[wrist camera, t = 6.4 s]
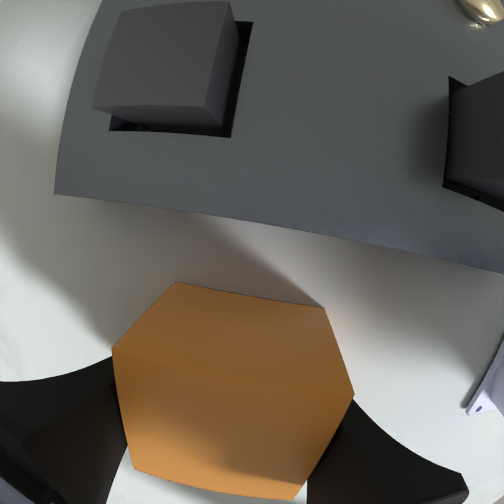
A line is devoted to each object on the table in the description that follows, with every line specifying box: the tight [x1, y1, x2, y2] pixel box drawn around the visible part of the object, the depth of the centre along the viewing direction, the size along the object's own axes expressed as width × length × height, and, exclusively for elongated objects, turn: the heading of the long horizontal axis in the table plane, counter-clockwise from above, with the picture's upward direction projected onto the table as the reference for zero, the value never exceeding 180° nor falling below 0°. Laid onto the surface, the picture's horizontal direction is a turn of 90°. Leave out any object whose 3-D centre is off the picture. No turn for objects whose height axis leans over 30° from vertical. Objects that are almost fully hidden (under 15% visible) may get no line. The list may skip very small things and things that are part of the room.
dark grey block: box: [91, 1, 245, 137], centre depth 7 cm, size 3×3×4 cm
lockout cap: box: [111, 282, 354, 500], centre depth 9 cm, size 6×6×5 cm
